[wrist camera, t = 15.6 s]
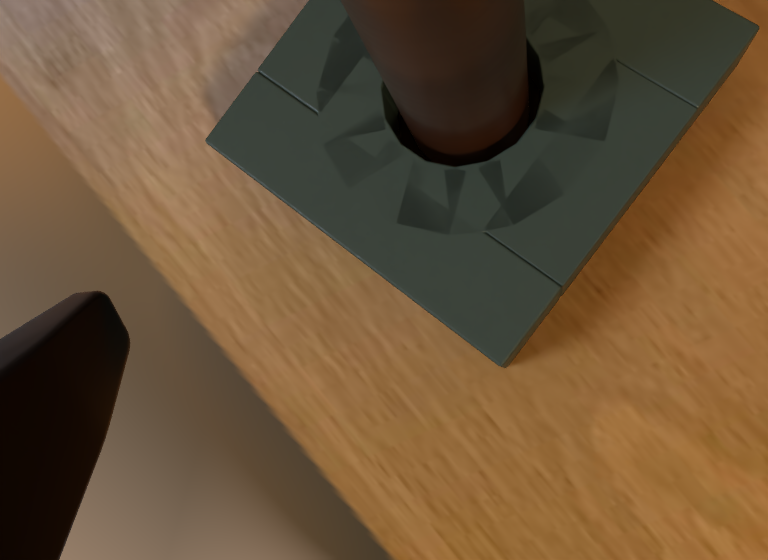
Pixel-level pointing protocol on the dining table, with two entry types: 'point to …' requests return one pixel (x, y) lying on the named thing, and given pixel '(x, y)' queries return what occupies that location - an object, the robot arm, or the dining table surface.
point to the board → (489, 178)
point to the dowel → (451, 71)
